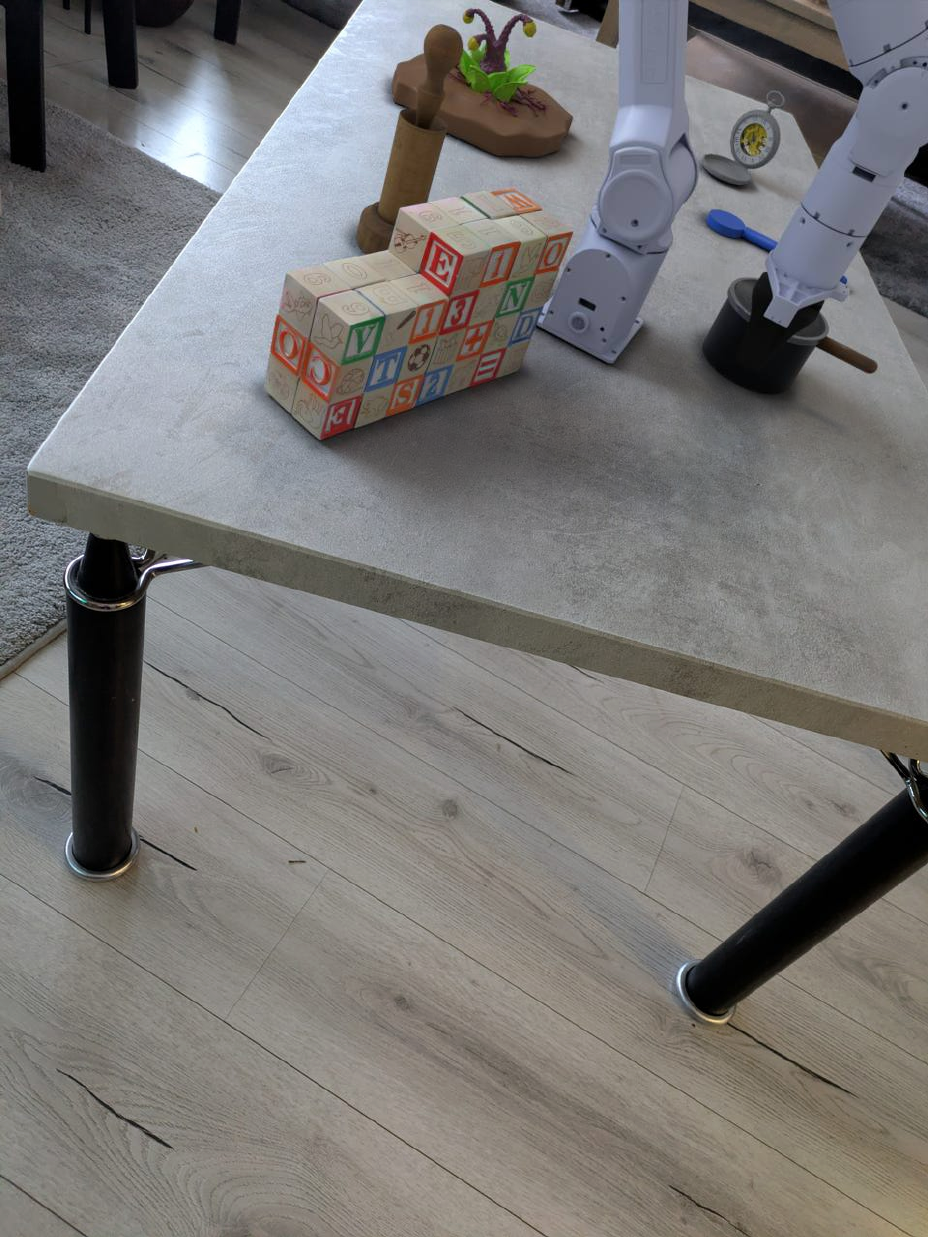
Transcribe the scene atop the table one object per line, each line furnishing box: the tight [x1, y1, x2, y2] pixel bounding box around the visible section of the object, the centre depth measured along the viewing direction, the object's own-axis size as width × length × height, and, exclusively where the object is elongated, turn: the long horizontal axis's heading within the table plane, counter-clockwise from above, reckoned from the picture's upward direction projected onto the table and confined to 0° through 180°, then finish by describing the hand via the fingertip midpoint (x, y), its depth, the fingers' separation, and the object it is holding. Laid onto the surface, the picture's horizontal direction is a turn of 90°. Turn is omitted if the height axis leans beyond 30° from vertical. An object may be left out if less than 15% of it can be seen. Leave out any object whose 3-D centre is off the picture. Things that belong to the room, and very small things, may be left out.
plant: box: [390, 8, 574, 158], centre depth 110 cm, size 20×20×11 cm
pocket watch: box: [701, 90, 786, 186], centre depth 121 cm, size 8×8×10 cm
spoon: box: [705, 208, 848, 285], centre depth 111 cm, size 17×4×1 cm, turn 64°
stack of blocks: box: [263, 187, 574, 441], centre depth 69 cm, size 21×6×12 cm, turn 136°
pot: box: [701, 276, 879, 395], centre depth 89 cm, size 10×15×6 cm, turn 65°
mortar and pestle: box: [355, 23, 464, 255], centre depth 80 cm, size 7×6×18 cm
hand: (748, 364), depth 85 cm, fingers closed
